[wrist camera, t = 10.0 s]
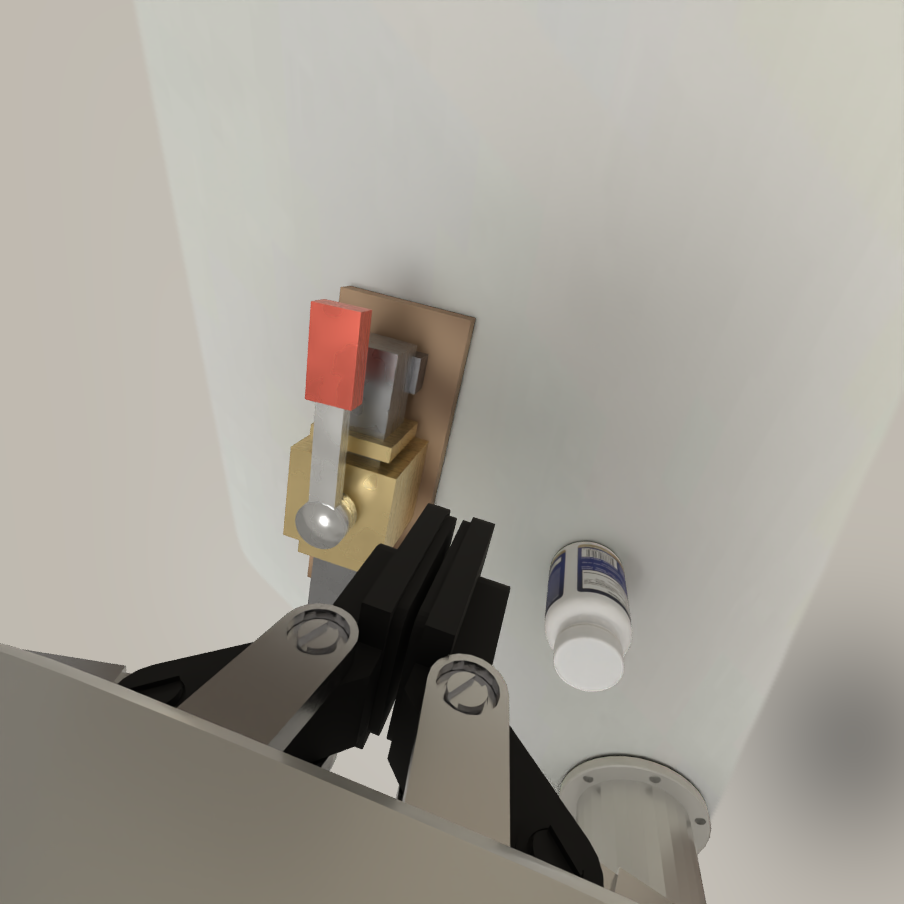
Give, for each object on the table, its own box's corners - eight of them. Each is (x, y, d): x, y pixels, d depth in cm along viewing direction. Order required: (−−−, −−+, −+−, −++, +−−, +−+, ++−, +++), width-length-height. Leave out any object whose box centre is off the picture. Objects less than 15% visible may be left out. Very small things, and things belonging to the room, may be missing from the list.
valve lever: (354, 538, 31) (339, 556, 29) (310, 524, 32) (293, 541, 30) (381, 309, 26) (364, 313, 24) (327, 297, 26) (307, 300, 24)
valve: (398, 587, 41) (365, 646, 35) (321, 561, 42) (276, 614, 36) (448, 347, 33) (416, 367, 27) (352, 321, 34) (300, 335, 28)
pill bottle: (569, 609, 39) (565, 710, 31) (537, 553, 38) (524, 642, 30) (636, 588, 37) (653, 690, 29) (605, 529, 36) (612, 616, 28)
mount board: (412, 599, 43) (406, 611, 41) (315, 566, 44) (307, 576, 43) (475, 317, 33) (471, 320, 32) (350, 285, 35) (340, 287, 33)
